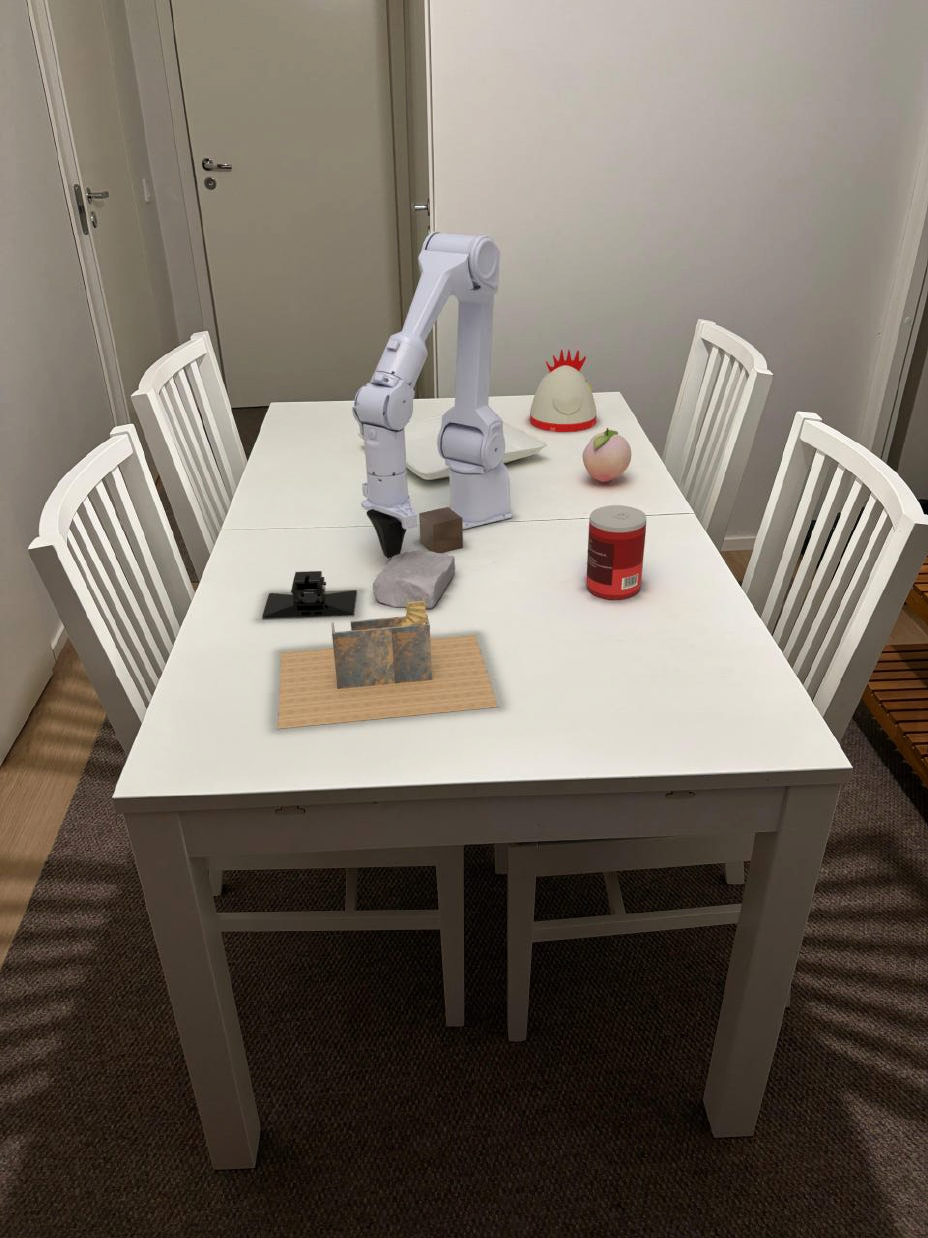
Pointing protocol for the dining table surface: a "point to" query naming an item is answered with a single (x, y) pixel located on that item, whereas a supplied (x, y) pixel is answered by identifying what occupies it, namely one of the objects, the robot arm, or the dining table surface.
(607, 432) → the decorative fruit
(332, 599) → the build plate
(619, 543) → the canned food
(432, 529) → the walnut cube
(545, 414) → the kitchen timer
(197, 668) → the dining table surface
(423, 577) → the stone block
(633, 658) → the dining table surface
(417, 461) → the square plate
